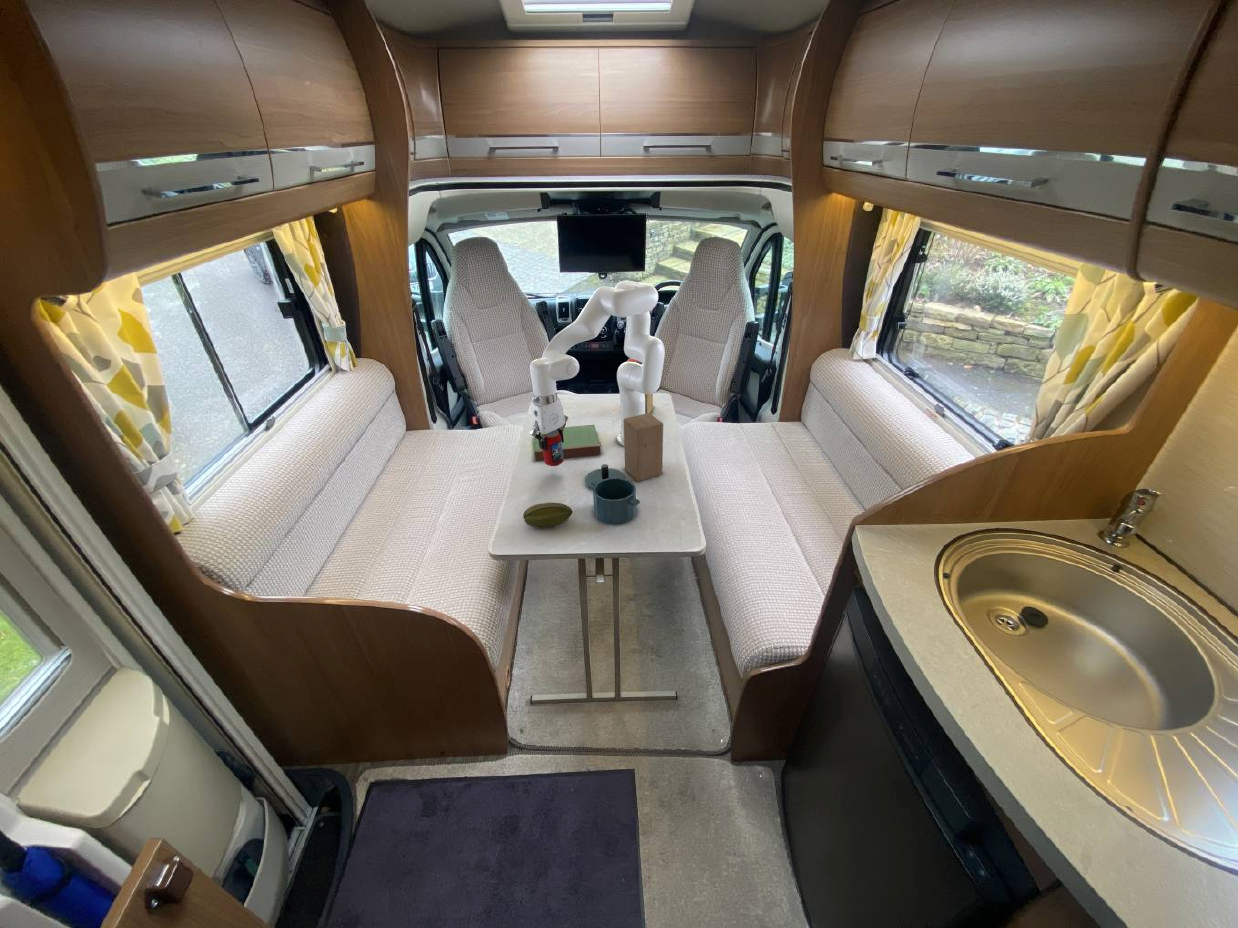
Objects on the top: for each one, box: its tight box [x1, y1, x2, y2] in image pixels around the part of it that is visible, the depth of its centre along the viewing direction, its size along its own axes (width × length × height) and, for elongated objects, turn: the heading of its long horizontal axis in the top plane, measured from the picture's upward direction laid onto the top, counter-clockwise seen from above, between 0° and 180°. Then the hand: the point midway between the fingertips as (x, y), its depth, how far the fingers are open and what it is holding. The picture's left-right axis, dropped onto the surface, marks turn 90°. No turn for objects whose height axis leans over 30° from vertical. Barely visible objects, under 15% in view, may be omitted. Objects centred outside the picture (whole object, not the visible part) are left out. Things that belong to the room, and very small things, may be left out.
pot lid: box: [584, 463, 626, 489], centre depth 170 cm, size 14×14×6 cm
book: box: [533, 424, 602, 462], centre depth 193 cm, size 25×19×4 cm
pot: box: [591, 478, 641, 525], centre depth 154 cm, size 13×18×8 cm
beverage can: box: [543, 430, 565, 467], centre depth 171 cm, size 7×7×12 cm
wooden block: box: [623, 413, 664, 482], centre depth 171 cm, size 10×10×20 cm
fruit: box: [522, 502, 574, 529], centre depth 149 cm, size 11×12×7 cm
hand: (552, 444), depth 171 cm, fingers closed on beverage can, 6 cm apart
